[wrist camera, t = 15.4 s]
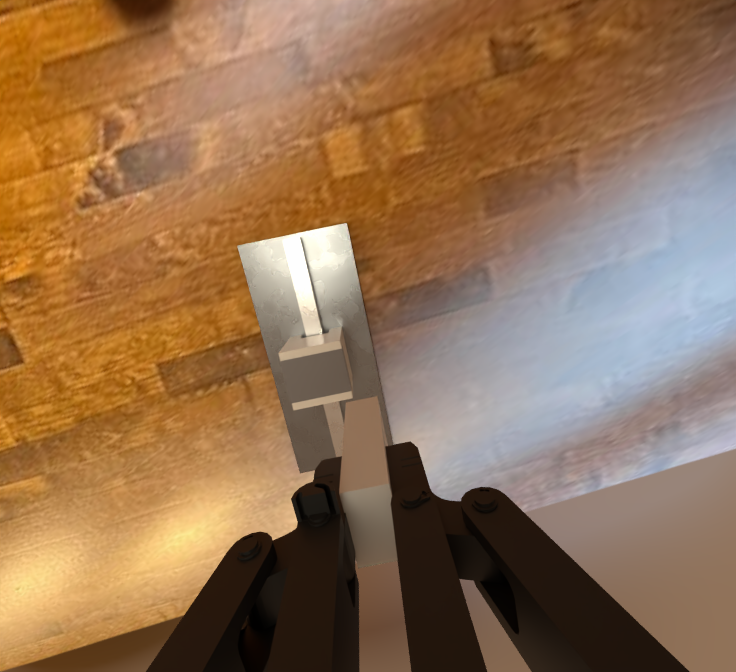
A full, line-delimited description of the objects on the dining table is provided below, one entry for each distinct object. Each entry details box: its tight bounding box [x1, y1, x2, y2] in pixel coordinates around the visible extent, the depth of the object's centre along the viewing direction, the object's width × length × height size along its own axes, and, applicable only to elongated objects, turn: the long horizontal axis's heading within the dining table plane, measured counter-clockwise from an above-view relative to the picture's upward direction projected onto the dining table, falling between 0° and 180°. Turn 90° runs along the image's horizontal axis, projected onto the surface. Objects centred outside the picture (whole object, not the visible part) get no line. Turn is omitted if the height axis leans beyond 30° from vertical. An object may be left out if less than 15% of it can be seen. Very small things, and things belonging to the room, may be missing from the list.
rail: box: [238, 223, 393, 473], centre depth 43 cm, size 28×12×2 cm, turn 12°
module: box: [278, 327, 353, 410], centre depth 39 cm, size 6×6×7 cm
